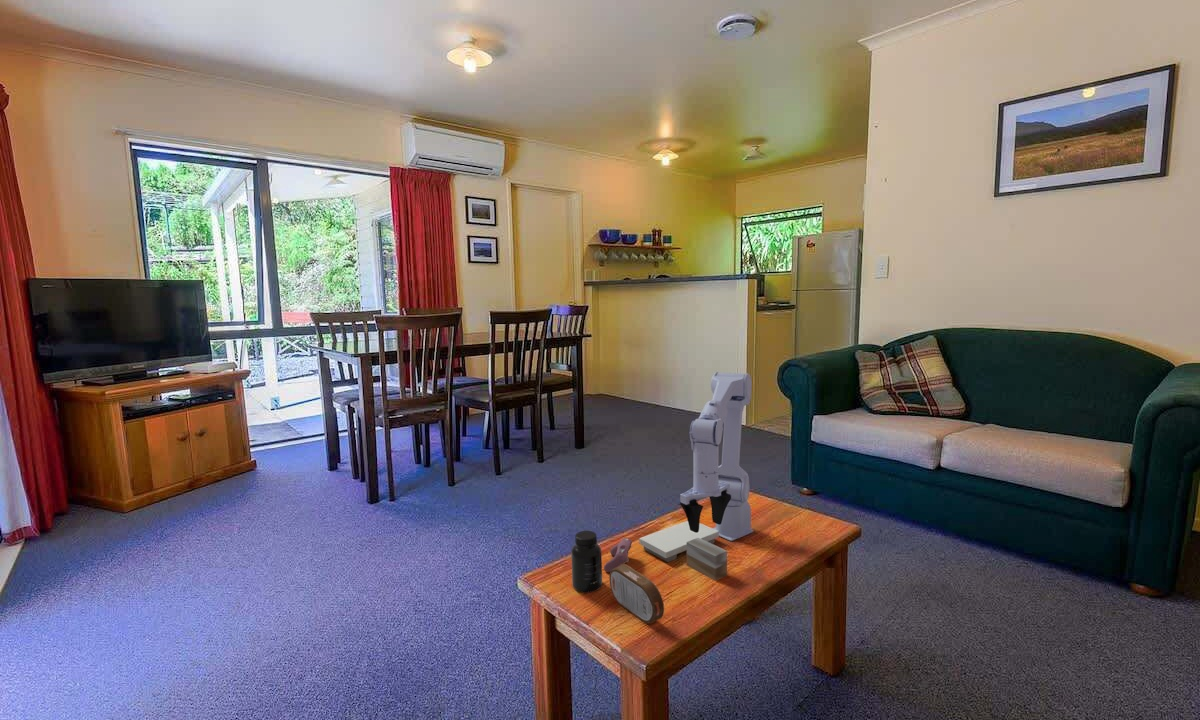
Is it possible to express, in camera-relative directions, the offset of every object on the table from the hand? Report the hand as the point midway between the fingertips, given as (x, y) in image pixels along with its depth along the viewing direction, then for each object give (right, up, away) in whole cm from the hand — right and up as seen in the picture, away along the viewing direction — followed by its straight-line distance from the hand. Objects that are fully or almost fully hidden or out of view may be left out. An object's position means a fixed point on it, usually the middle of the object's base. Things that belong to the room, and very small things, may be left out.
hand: (705, 527), depth 122 cm
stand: (-4, -9, +14) cm, 17 cm away
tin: (-18, -13, -15) cm, 27 cm away
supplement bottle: (-28, -12, -4) cm, 30 cm away
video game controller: (-20, -11, +5) cm, 24 cm away
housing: (0, -11, +1) cm, 11 cm away
